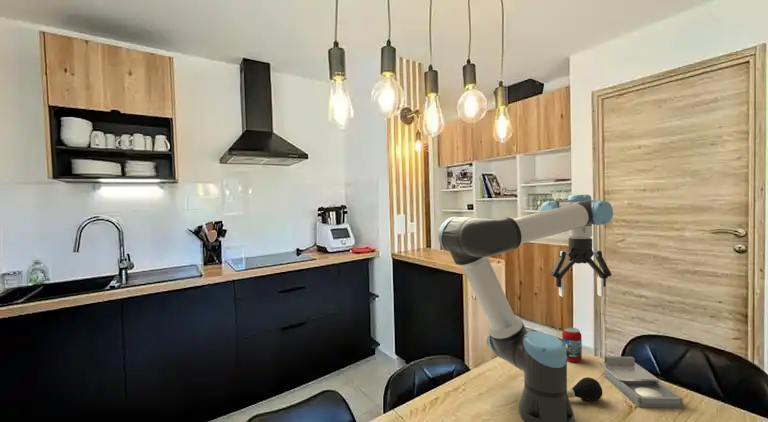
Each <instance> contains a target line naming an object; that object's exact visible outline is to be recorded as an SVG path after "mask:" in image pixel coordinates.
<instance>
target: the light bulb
mask: <svg viewBox="0 0 768 422" xmlns="http://www.w3.org/2000/svg"><path fill="white" fill-rule="evenodd" d="M567 396H568V399H569V400H570V399H572V398H579V399H583V400H587V401H591V402H595V401H599V400H600V399H601V398H602V397H603V387H602V386H601V384H600V383H599V381H598V380H597V379H595V378H593V377H589V376H588V377H584V378H581V379H580V380H579V381H578V382H576V383H575V385H574V386H573V387H569V388H567Z"/></svg>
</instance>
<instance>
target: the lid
mask: <svg viewBox="0 0 768 422" xmlns="http://www.w3.org/2000/svg"><path fill="white" fill-rule="evenodd" d="M599 365H600V366H601V367H602V368H604V369H605V370H607V371H608V372H609V373H611V374H612V375H613V376H614V377H615V378H616V379H618V380H619V381H659V382H660V380H659V378H657V377H656V376H655V375H653V374H652V373H651V372H649V371H648V370H647V369H645V368H643V367H642V366H641V365H639V364H638V363H636V362H635V358H634V357H633V356H607V355H606V356H604V362H599Z"/></svg>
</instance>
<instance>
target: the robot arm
mask: <svg viewBox="0 0 768 422" xmlns="http://www.w3.org/2000/svg"><path fill="white" fill-rule="evenodd" d="M613 217H614V209H613V206H612V204H611V203H610V202H609V201H608V200H599V199H595V200H594V199H593V200H592V196H591V195H590V194H570V195H568V196H567V200H550V201H548V200H547V201H545V202H543V203H542V204H541V206H540V208H539V212H536V213H532V214H527V215H523V216H518V217H515V218H513V217H511V216H504V217H495V218H490V217H487V218H486V217H475V216H474V217H471V216H463V215H457V216H451V217H449V218H447V219H446V220H444V222H443V223H442V224H441V225H440V227H439V231H438V243H439V244H440V246H441V247H442V248H443V249H444V250H445V251H447V252H449V254H450V255H451V258H452V260H453V262H454V264H455V265H456V266H459V267H462V269H463V272H464V273H465V277H467V279H468V282H469V284H470V286H471V288H472V290H473V293H474V294H475V296H476V299H477V301H478V302H479V304H480V307H481V309H482V311H483V314H484V316H485V317H486V320H487V321H488V323H489V325H488V328H487V331H488V333H487V334H488V336H487V342H488V346H489V348H490V350H491V351H492V352H493V354H495V355H496V356H497V357H499V358H501V360H504V361H505V362H506V363H507V362H508V363H509V364H510V365H512V366H514V367H515V368H517V369H519V370H520V371H522V372H523V377H524V378H523V379H524V380H523V383H524V384H523V385H524V386H523V390H522V393H521V395H520V398H519V401H518V413H519V416H520V417H521V418H522V420H524V421H525V422H575V413H574V411H573V410H574V409H573V408H572V405H571V402H570V398H569V399H568V396H567V389H568V376H567V375H568V361H567V355H566V348H565V345H564V344H563V342H562V340H560V338H558V337H556V336H554V335H552V334H551V333H545V332H542V331H528V330H527V329H526V327H525V324H524V322H523V320H522V318H521V317H520V316H518V315H516V314H514V311H513V309H512V307H511V304H510V303H509V301H508V298H507V296H506V294H505V292H504V290H503V288H502V286H501V283H500V280H499V279H498V277H497V275H496V272H495V270H494V269H493V266H492V264H491V262H490V260H489V257H492V256H495V255H499V254H503V253H506V252H507V253H508V252H510V251H513V250H516V249H519V248H520V247H521V245H522V244H525V243H529V242H532V241H536V240H540V239H543V238H547V237H551V236H554V235H557V234H562V233H565V232H568V237H569V238H568V250H567V251H565V250H559V252H558V253H559V254H558V257H557V259H556V262H555V264H554V266H553V268H552V270H551V272H550V275H551V277H554V278H555V284H556V287H558V295H559V296H560V297H561V298H565V279H564V278H563V277H564V276H565V275H566V274H567V272H568V271H569V270H570V269H571V268H572V266H573V265H575V264H588V265H589V266H590V267H591V268H592V270H594V272H595V273H596V274H597V275H598V276H597V277H596V285H597V286H596V294H597V296H599V297H602V298H603V297H604V288H606V284H607V283H606V282H607V279H608V277H611V276H613V275H612V272H611V271H610V268H609V266H608V264H607V263H606V261H605V259H604V257H603V252H602V250H599V249H595V250H593V239H592V237H593V225H596V226H603V225H607V224H609V223H610V222H611V221H612V219H613ZM593 256H594V257H595V259H596V261H597V263H598V264H599V266H600V267H599V266H598V264H597V263H596V262H595V261H594V260H593V259H592V257H593ZM568 257H569V258H568ZM566 258H568V259H567V260H566ZM565 260H566V262H565ZM564 262H565V263H564ZM563 264H564V265H563Z"/></svg>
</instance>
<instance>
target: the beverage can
mask: <svg viewBox="0 0 768 422" xmlns="http://www.w3.org/2000/svg"><path fill="white" fill-rule="evenodd" d="M561 339H562V340H561V341H562V342H563V344H564V345H565V348H566V355H567V362H571V363H578V362H581V361H582V358H583V356H582V354H583V353H582V350H583V347H582V346H583V344H582V342H583V340H582V333H581V332H580V330H579V329H578V328H576V327H571V326H569V327H568V326H567V327H564V329H563V330H562V333H561Z"/></svg>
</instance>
